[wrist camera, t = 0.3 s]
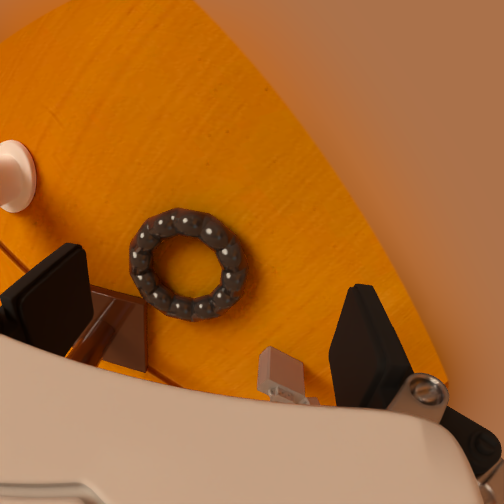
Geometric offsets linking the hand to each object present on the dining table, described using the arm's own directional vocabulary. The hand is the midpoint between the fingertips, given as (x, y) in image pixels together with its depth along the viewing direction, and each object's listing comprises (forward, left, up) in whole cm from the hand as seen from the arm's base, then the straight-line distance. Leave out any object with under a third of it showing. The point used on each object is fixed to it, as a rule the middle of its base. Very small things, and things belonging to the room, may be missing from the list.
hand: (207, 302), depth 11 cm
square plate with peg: (+15, -11, -14) cm, 24 cm away
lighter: (+15, +8, -14) cm, 22 cm away
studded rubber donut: (+6, -3, -13) cm, 15 cm away
